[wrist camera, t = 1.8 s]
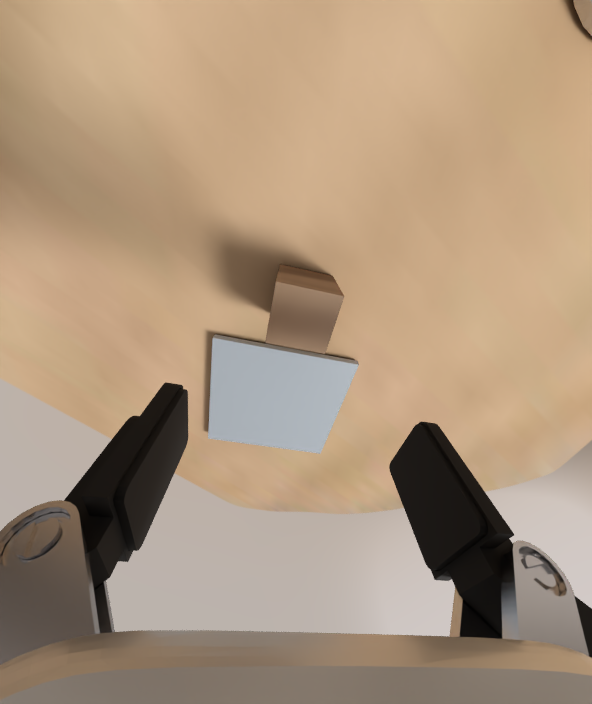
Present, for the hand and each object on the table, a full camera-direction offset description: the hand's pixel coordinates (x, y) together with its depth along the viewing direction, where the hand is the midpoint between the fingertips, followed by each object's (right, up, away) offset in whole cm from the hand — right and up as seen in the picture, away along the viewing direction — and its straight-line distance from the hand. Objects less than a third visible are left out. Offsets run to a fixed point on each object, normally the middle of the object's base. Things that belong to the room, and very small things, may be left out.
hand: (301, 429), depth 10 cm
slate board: (-3, -3, +21) cm, 21 cm away
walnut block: (0, +9, +14) cm, 16 cm away
